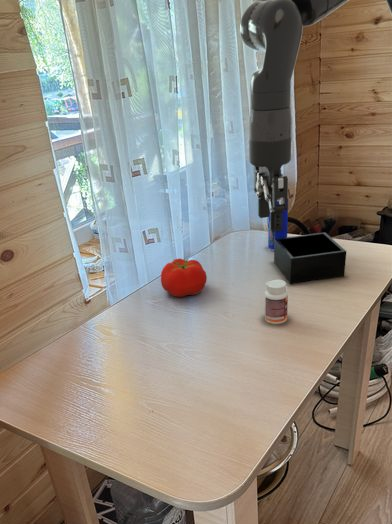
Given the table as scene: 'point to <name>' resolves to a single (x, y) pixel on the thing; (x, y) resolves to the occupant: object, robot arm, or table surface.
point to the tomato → (183, 277)
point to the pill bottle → (276, 302)
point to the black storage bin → (309, 258)
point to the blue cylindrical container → (279, 233)
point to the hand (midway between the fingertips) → (269, 223)
